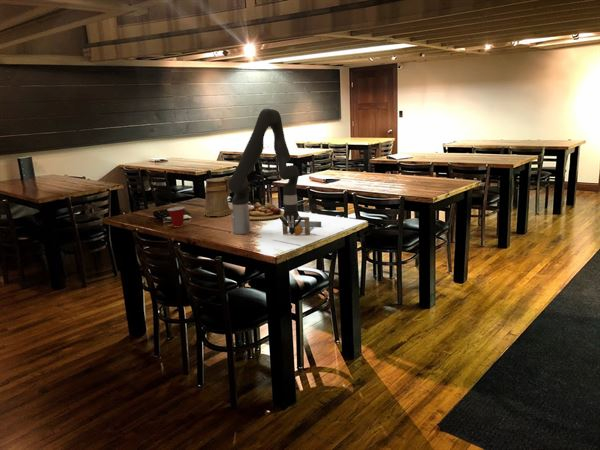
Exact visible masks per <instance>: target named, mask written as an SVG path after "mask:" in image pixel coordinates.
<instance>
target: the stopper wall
mask: <svg viewBox="0 0 600 450" xmlns="http://www.w3.org/2000/svg"><path fill="white" fill-rule="evenodd" d="M297 221H298V220H295V224H296V223H297ZM309 222H310V227H314V228H322V221H311V220H309ZM299 225H301V226H302V227H305V220H301V222H300V223H299Z"/></svg>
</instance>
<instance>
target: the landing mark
mask: <svg viewBox="0 0 600 450" xmlns="http://www.w3.org/2000/svg"><path fill="white" fill-rule="evenodd" d="M314 228H315V227H310V233H311V231H313V230H314ZM288 234H290V233H289V230H288ZM301 234H305V227H303V232H302V233H301Z"/></svg>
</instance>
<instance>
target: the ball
mask: <svg viewBox="0 0 600 450" xmlns="http://www.w3.org/2000/svg"><path fill="white" fill-rule="evenodd" d="M302 232H303V227H302V226H301V225H299V224H298V226H296V227H295V233H294V234H293V235H296V236H299V235H301V234H303V233H302Z"/></svg>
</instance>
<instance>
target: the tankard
mask: <svg viewBox="0 0 600 450" xmlns="http://www.w3.org/2000/svg"><path fill="white" fill-rule="evenodd" d="M229 180H230V179H229V176H227V175H225V176H223V177H218V178H217V177H216V178H207V179H206V180H205V184H206V185H205V188H204V189H205V190H204V191H205V204H204V205H205V206H204V209H203V216H205V215H206V216H205V217H210V216H217V217H225V215H226V216H229V215H231V214H232V212H231V208H230V206H229V200H228V199H229V196H230V192H231V191H230V189H229V186H228V183H229ZM228 214H229V215H228Z"/></svg>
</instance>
